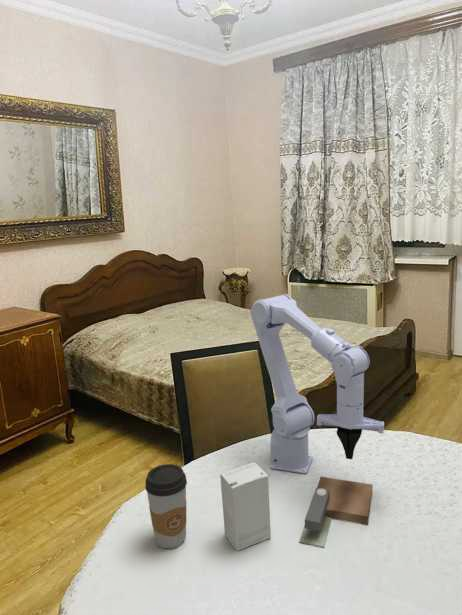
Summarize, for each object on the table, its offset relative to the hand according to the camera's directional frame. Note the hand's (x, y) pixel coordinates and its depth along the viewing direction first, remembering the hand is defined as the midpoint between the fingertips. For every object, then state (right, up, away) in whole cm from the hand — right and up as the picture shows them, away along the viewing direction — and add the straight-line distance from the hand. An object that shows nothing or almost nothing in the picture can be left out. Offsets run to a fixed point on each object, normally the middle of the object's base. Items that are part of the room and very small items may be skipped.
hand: (349, 456), depth 112 cm
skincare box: (-24, -14, -11) cm, 29 cm away
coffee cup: (-39, -14, -10) cm, 43 cm away
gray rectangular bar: (-9, -9, -8) cm, 15 cm away
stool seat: (-4, -11, -5) cm, 13 cm away
